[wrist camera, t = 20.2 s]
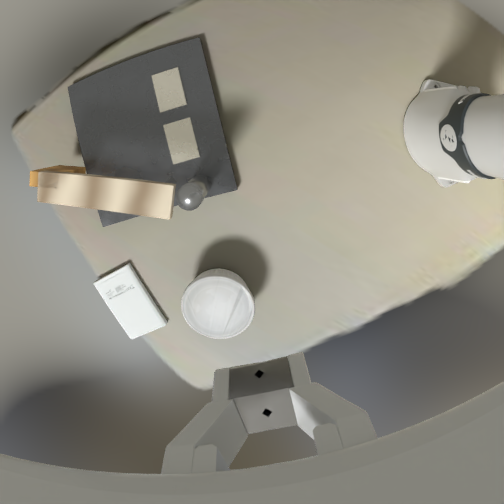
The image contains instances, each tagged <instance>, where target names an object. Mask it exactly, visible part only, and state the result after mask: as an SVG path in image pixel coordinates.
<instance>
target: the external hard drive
mask: <svg viewBox="0 0 504 504" xmlns="http://www.w3.org/2000/svg"><path fill="white" fill-rule="evenodd" d="M94 285H95V287H96V288H97V290H98V291H99V293H100V294H101V296H102V298H103V299H104V301H105V302H106V304H107V305H108V306H109V308H110V310H111V311H112V313H113V314H114V316H115V317H116V318H117V320H118V322H119V323H120V325H121V326H122V327H123V329H124V330H125V332H126V333H127V334H128V336H129V337H130V338H131V339H134V338H137V337H139V336H142V335H144V334H146V333H149V332H151V331H154V330H156V329H159V328H161V327H163V326H165V325H167V323H168V322H167V320H166V319H165V317H164V316H163V314H162V313H161V311H160V310H159V308H158V307H157V305H156V304H155V302H154V301H153V299H152V298H151V296H150V294H149V293H148V291H147V290H146V288H145V287H144V285H143V283H142V282H141V280H140V279H139V277H138V275H137V274H136V272H135V270H134V269H133V267H132V266H131V264H130V263H128V264H126V265H125V266H123V267H121V268H119V269H117V270H115V271H114V272H112V273H110V274H108V275H106V276H104V277H102V278H100V279H98V280H96V281H95V282H94Z"/></svg>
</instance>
